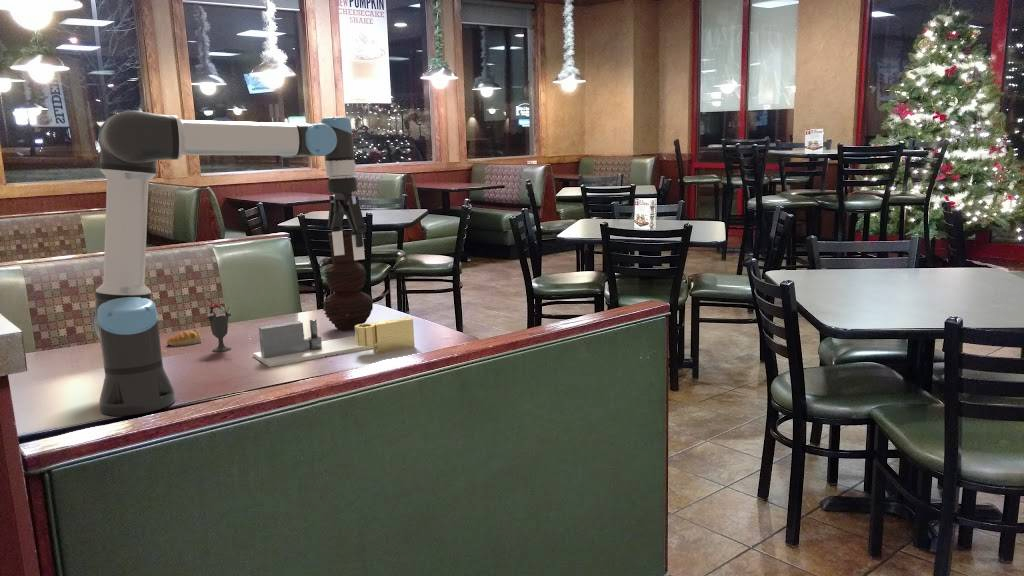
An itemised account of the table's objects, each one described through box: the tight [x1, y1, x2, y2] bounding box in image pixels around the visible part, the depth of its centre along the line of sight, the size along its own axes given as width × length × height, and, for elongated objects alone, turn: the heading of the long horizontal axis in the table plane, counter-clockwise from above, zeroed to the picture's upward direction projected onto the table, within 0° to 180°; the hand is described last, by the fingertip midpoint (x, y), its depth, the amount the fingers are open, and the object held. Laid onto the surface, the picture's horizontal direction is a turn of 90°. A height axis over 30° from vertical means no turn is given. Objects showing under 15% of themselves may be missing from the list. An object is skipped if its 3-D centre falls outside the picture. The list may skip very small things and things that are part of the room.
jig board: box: [252, 335, 373, 368], centre depth 218 cm, size 30×14×1 cm, turn 124°
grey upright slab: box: [258, 318, 322, 358], centre depth 214 cm, size 16×4×8 cm, turn 124°
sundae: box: [205, 298, 232, 353], centre depth 223 cm, size 7×7×15 cm
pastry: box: [166, 329, 203, 347], centre depth 234 cm, size 9×7×4 cm
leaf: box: [354, 316, 415, 355], centre depth 216 cm, size 16×5×8 cm, turn 124°
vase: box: [322, 230, 374, 332], centre depth 244 cm, size 15×15×30 cm
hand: (349, 257), depth 211 cm, fingers open, 13 cm apart
